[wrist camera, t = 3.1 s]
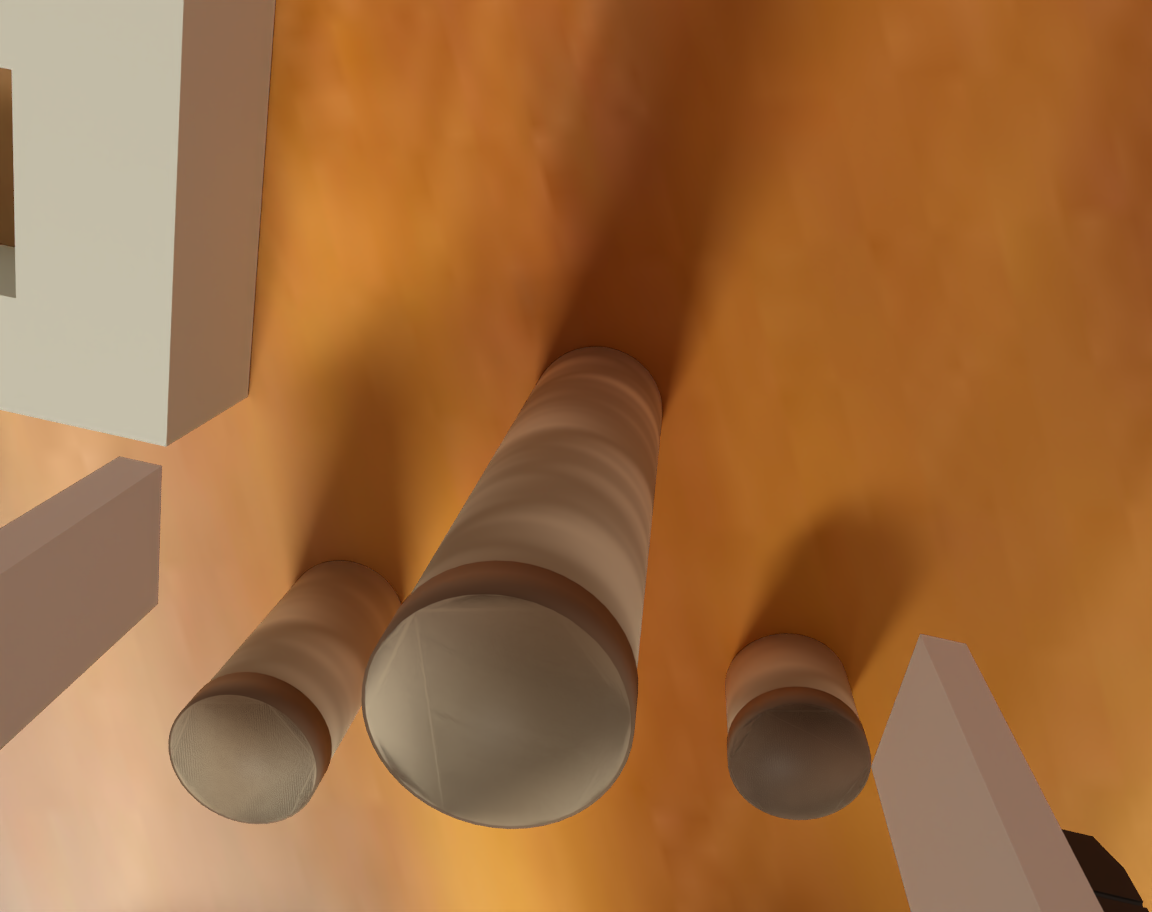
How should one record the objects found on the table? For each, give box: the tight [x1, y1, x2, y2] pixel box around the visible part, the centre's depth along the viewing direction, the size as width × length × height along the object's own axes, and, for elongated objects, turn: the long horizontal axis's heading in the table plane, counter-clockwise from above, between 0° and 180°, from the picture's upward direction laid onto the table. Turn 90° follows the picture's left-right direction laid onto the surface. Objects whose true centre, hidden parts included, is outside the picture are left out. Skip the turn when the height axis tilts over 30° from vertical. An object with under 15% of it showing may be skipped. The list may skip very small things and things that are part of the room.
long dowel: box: [361, 347, 662, 829], centre depth 22 cm, size 4×4×16 cm
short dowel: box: [725, 633, 871, 820], centre depth 30 cm, size 4×4×4 cm
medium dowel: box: [169, 560, 401, 824], centre depth 29 cm, size 4×4×8 cm
